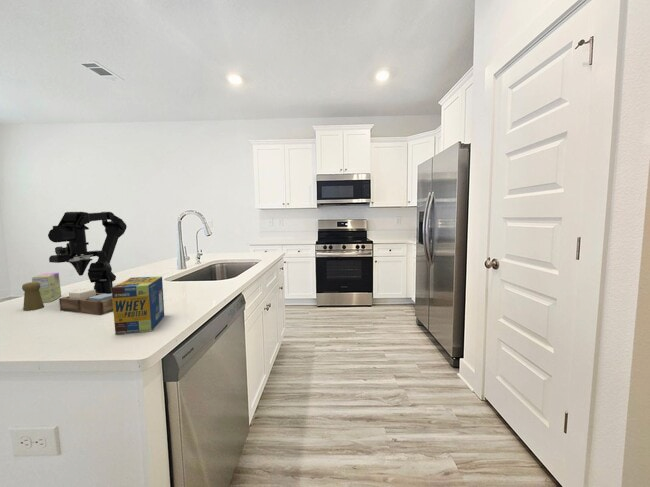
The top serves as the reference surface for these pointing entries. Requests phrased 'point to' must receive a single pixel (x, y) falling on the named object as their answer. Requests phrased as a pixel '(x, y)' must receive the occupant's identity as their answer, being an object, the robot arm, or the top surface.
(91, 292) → the cream block
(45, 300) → the box
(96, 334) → the top surface
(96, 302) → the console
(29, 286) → the cork
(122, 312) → the protein box
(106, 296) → the slate key
